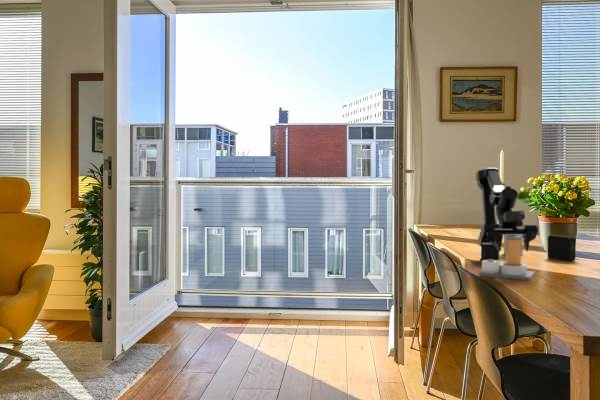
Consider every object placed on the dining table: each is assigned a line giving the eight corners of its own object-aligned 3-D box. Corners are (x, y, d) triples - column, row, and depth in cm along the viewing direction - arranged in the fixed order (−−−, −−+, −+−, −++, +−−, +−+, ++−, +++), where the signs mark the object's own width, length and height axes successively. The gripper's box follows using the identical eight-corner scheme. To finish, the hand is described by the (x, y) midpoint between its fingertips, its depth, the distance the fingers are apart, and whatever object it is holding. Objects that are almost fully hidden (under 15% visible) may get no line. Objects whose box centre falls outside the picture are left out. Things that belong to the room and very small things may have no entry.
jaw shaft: (502, 272, 181) (503, 236, 180) (511, 270, 183) (511, 235, 183) (514, 274, 177) (515, 237, 176) (523, 273, 179) (524, 236, 179)
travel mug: (508, 252, 235) (508, 214, 234) (525, 254, 229) (525, 214, 228) (500, 254, 229) (501, 215, 228) (518, 256, 224) (518, 215, 223)
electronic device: (569, 261, 208) (569, 237, 208) (547, 258, 217) (547, 235, 217) (575, 260, 210) (575, 237, 210) (553, 257, 219) (554, 234, 218)
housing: (479, 275, 180) (479, 260, 179) (486, 270, 190) (487, 255, 190) (529, 280, 171) (530, 264, 171) (534, 274, 182) (534, 258, 181)
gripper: (483, 202, 184) (490, 236, 174) (537, 202, 182) (547, 236, 171) (478, 222, 192) (485, 255, 182) (529, 222, 190) (539, 256, 179)
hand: (513, 250), depth 178 cm, fingers open, 9 cm apart
